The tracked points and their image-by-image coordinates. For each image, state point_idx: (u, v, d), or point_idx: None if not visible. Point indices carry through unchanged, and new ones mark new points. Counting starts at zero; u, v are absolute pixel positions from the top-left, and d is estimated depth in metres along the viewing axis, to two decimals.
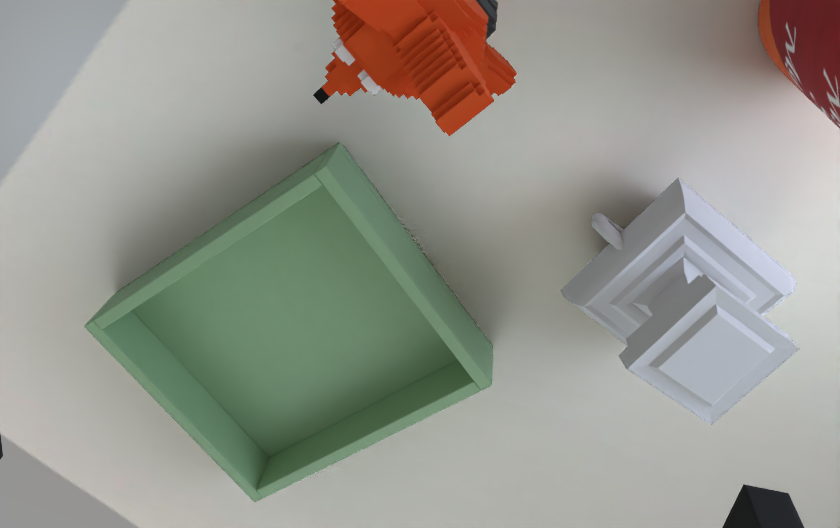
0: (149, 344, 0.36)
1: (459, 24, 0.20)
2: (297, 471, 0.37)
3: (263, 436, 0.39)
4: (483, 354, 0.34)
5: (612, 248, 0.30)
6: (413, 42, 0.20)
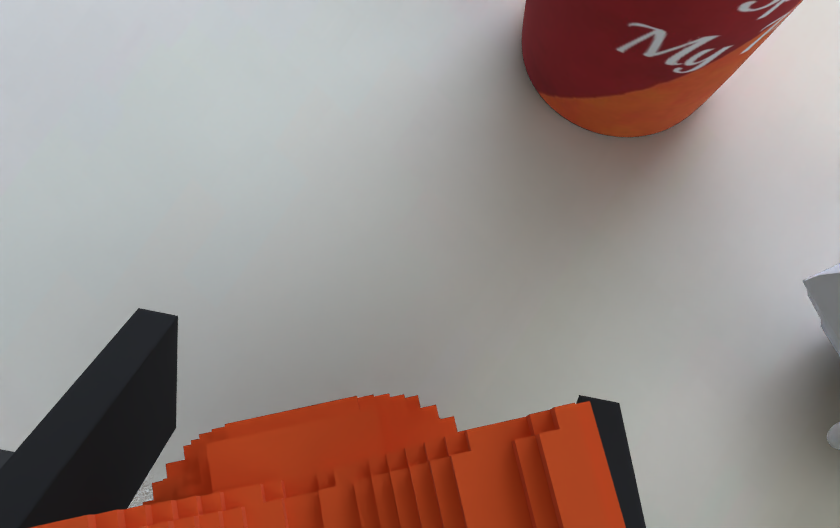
0: None
1: (377, 432, 0.08)
2: None
3: None
4: None
5: None
6: None
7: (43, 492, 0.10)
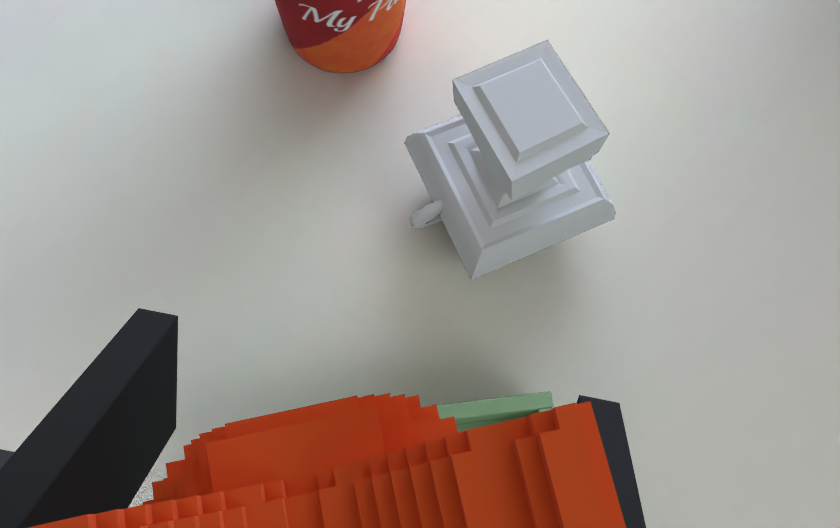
0: None
1: (378, 432, 0.08)
2: None
3: None
4: None
5: (442, 213, 0.30)
6: None
7: (43, 492, 0.10)
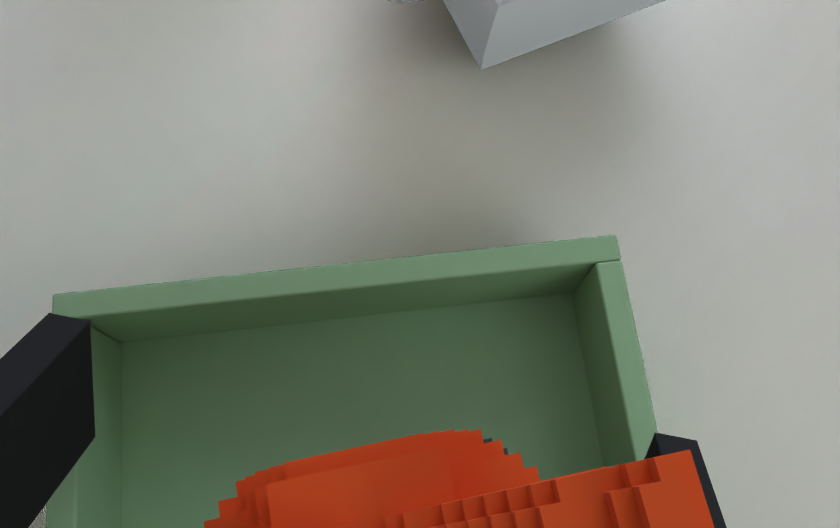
0: None
1: (446, 473, 0.08)
2: None
3: None
4: None
5: None
6: None
7: None
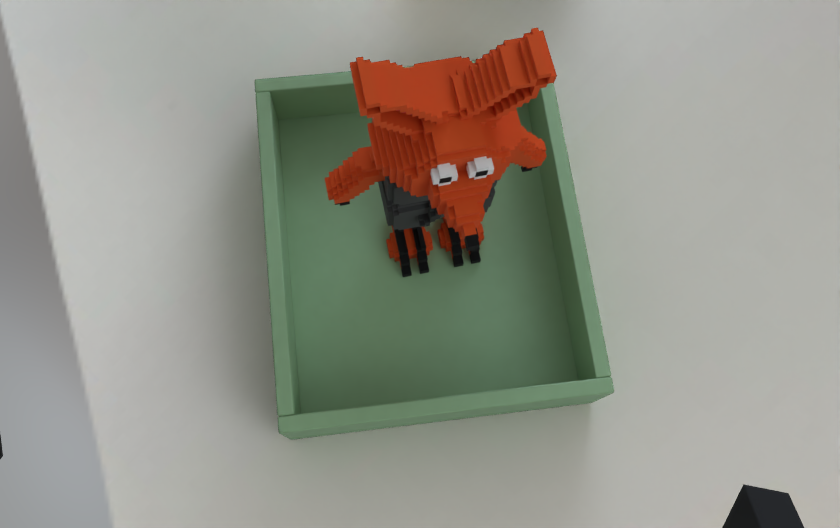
0: None
1: None
2: (584, 307, 0.28)
3: (545, 375, 0.30)
4: None
5: None
6: (465, 96, 0.22)
7: None
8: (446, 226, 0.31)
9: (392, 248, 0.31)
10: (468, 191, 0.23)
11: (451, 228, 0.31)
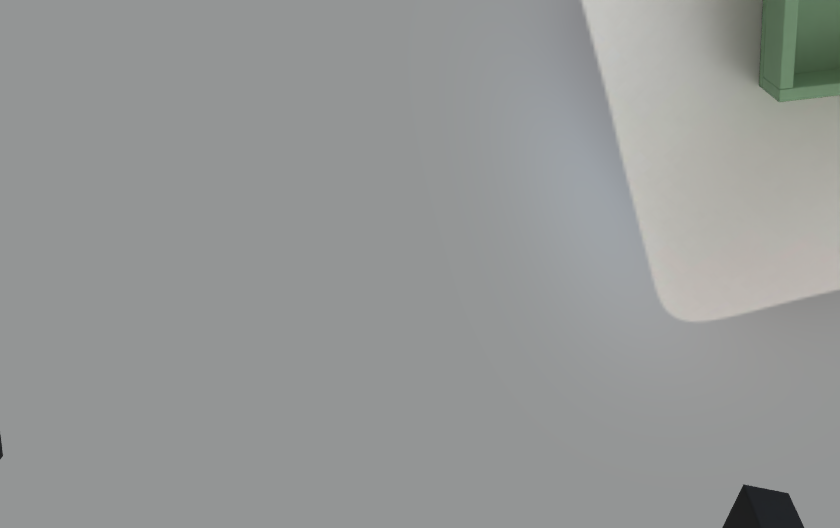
0: (830, 73, 0.35)
1: None
2: None
3: None
4: None
5: None
6: None
7: None
8: None
9: None
10: None
11: None
